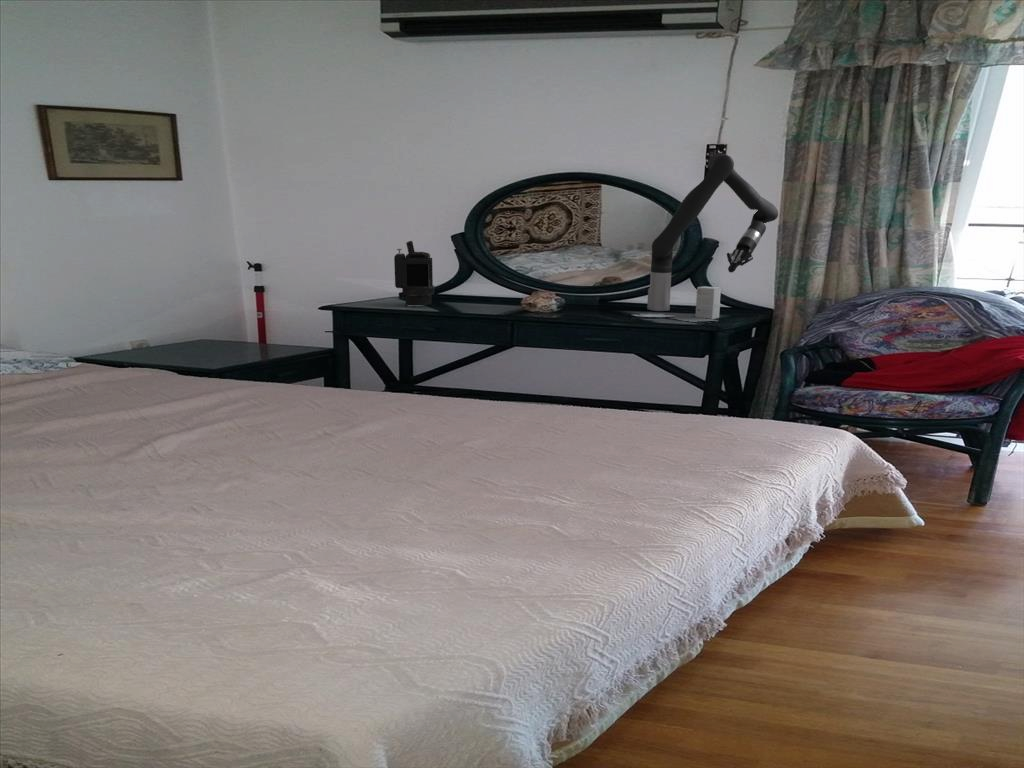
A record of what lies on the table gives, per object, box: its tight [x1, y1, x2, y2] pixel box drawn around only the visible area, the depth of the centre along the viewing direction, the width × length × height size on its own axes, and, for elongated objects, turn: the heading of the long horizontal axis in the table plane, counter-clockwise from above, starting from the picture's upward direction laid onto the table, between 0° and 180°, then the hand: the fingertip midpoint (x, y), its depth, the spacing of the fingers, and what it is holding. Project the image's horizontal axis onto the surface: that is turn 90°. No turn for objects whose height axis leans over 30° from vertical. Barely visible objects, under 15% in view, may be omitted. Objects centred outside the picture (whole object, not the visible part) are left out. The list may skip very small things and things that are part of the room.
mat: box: [675, 315, 719, 323], centre depth 311 cm, size 18×12×1 cm
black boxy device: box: [393, 240, 435, 305], centre depth 349 cm, size 15×18×30 cm
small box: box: [694, 286, 722, 320], centre depth 316 cm, size 8×6×13 cm
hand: (730, 271), depth 322 cm, fingers closed
